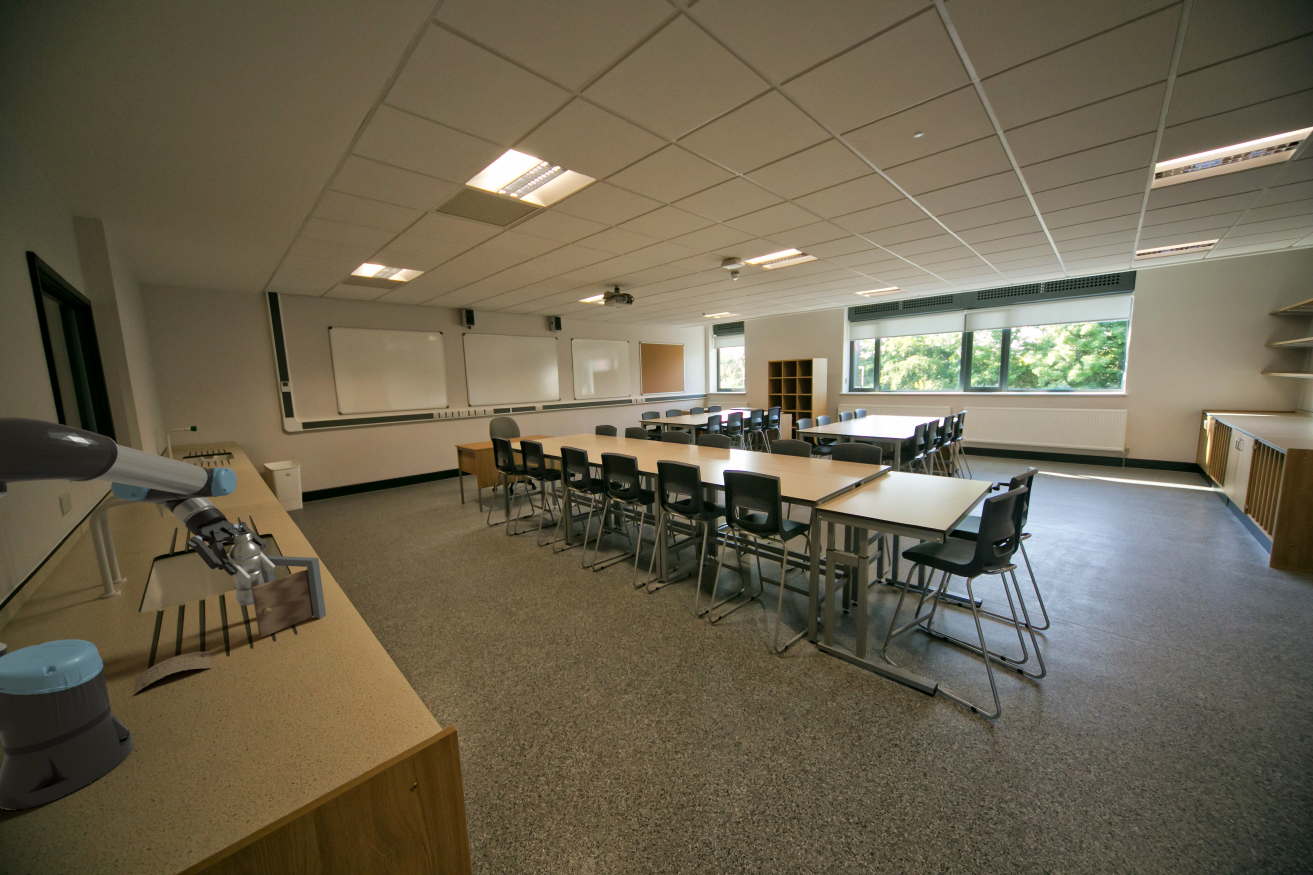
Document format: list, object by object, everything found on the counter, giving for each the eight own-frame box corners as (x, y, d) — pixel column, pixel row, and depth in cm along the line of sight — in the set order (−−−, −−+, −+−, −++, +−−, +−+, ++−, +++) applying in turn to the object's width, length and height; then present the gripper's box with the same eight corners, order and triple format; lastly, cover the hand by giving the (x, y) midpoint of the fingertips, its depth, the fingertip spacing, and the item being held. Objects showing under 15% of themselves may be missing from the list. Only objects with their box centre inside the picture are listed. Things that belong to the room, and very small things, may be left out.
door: (313, 613, 135) (307, 568, 133) (318, 615, 133) (312, 570, 132) (259, 635, 123) (251, 587, 122) (263, 638, 122) (256, 589, 120)
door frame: (320, 618, 133) (312, 560, 130) (268, 615, 136) (259, 558, 133) (326, 615, 135) (318, 557, 132) (274, 611, 138) (266, 555, 135)
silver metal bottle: (254, 608, 123) (243, 538, 120) (230, 608, 123) (218, 538, 120) (275, 596, 129) (264, 529, 127) (251, 597, 130) (241, 530, 127)
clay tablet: (129, 700, 101) (127, 689, 101) (130, 681, 108) (128, 670, 107) (218, 668, 112) (217, 658, 111) (214, 652, 118) (212, 643, 118)
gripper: (231, 514, 135) (286, 569, 135) (151, 537, 116) (214, 600, 116) (243, 497, 133) (299, 552, 133) (164, 518, 115) (228, 582, 114)
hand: (259, 574), depth 125 cm, fingers closed on silver metal bottle, 6 cm apart
